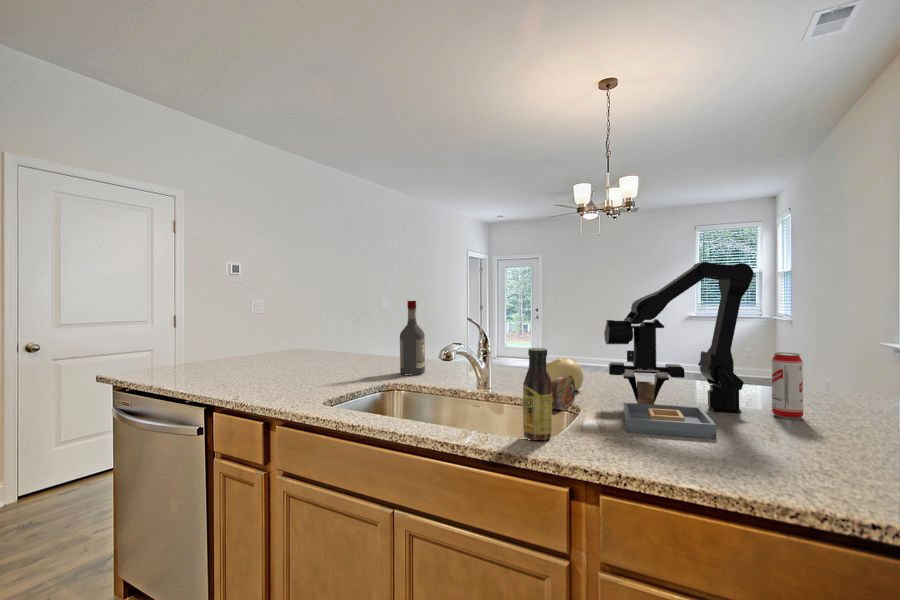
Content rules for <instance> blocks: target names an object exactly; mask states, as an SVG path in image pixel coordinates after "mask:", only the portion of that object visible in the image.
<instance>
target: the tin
mask: <svg viewBox="0 0 900 600" xmlns="http://www.w3.org/2000/svg"><path fill="white" fill-rule="evenodd" d="M551 391H552V410H556V411H565V410H566V409H567V408H569V407H571V406H573V404H574V401H575V397H576V390H575V384H574V380H573V378H572V376H570V375H569V376H561V377H559V378H557V379H555V380H553V381H552V383H551Z"/></svg>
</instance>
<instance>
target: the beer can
mask: <svg viewBox="0 0 900 600" xmlns="http://www.w3.org/2000/svg"><path fill="white" fill-rule="evenodd" d="M773 354H774V355H773V357H772V359H771V411H772V414H773V415H774V416H775V417H777V418H779V419H784V420H791V421H793V420H796V421H797V420H800V419H802V418H803V416H804V370H803V368H804V365H803V364H804V363H803V360H802V358H801V357H800V356H801V355H800V353H795V352H783V351H782V352H779V351H778V352H774V353H773Z"/></svg>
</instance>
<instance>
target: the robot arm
mask: <svg viewBox="0 0 900 600" xmlns="http://www.w3.org/2000/svg"><path fill="white" fill-rule="evenodd" d="M705 278H707V279H711V280H715V281H718V289H719V292H720V300H719V305H718V310H717V316H716V320H715V325H714V330H713V334H712V335H713V336H712V339H711V345H710V347H709V348H708V350H707V351H704V350H702V351H700V360H699V363H698V364H697V366H699V370H700V371H699V372H700V373H701V375H702V376H703V377H704V378H706V381H707V383H708V384H709V389H708V390H707V405H708V407H709V408H710V409H711V410H712V411H714V412H721V413H722V412H725V413H726V412H727V413H739V414H740V413H742V410H741V409H740V391H742V389H743V386H744V381H743V380H742V379H741V378H740V377H739V376H737V374H736V373H734V372H735V371H734V367H735V366H734V365H735V363H734V362H735V361H734V358H733V355H732V346H733V341H734V337H735V330H736V326H737V322H738V316H739V313H740V312H739V310H740V307H741V301H742V298H743V297H744V296H745V294H746V293H747V291H748V290H749V288H750V286H751V283H752V281H753V278H754V269H752V267H751V266H750V265H749V264H747V263H745V262H738V263H730V264H725V263H713V262H708V261H702V262H697V263H695V264H693V266H692V267H690V268H689V269H688V270H686V271H684V272H683V273H682V274H680V275H679V276H677V277H676V278H674V279H673V280H672V281H670V282H669V283H667V284H665V285H664V286H663V287H661V288H660V289H658V290H656V291H655V292H652V293H650V294H647V295H645V296H643V297H640V298H638V299H636V300H635V301H633V302H632V304H631V308H630V311H629V313H628V314H627V315H626V317H625V318H624V319H623V320H612V319H607V320H605V321H606V324H605V329H604V331H603V332H604V333H603V335H604V336H603V337H604V341H605V342H604V343H605V344H606V345H629V344H630V342H632V341H633V350H626V362H627V363H632V365H625V363H624V362H616V361H614V362H609V364H608V374H609V376H622V377H623V379H626V380H628V382H629V384H630V386H631V388H632V391H633V395H634V399H635V401H636V402H637V401H638V393H637V380H636V376H635V373H637V374H654V380H653V381H654V382H653V384H654V403H655V402H656V400H657V398H658V395H659V393H660V390H661V388H662V386H663V385H664V383H665V381H670V377H671V378H678V379H679V378H680V379H683V378H685V368H684V367H682V366H681V365H680V364H678V363H677V364H676V363H673V364H672V363H665V366H657V329H664V328H665V325H663V323H662V322H661V321H659V319H658V318H657V319H656V317H658V316H659V314H661V313H662V311H664V310H665V308H666V307H667V305H668V304H669V303H670V302H672V301H673V300H674V299H676V298H677V297H678V296H680V295H682V294H683V293H685V292H686V291H688V290H689V289H690V288H692V287H693V286H695V285H696V284H697V283H700V281H703V280H704V279H705ZM668 376H670V377H668Z"/></svg>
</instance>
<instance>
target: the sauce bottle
mask: <svg viewBox="0 0 900 600" xmlns="http://www.w3.org/2000/svg"><path fill="white" fill-rule="evenodd" d="M527 354H528V357H529V358H528V359H529V360H528V368H527V372H526V374H525V378H524V381H523V382H522V383H523V385H522V386H523V387H522V388H523V389H522V390H523V393H522V394H523V395H522V397H523V398H522V402H523V403H522V406H523V407H522V409H523V411H522V413H523V414H522V415H523V416H522V417H523V418H522V421H523V423H522V425H523V426H522V427H523V428H522V430H523V436H524V438H526V439H528V440H530V441H532V440H544V441H548V440H550V439H551V438H552V431H553V430H552V429H553V428H552V427H553V426H552V425H553V419H552V418H553V416H552V415H553V409H552V391H551V383H552V382H551V378H550V376H549V374H548V372H547V371H546V368H547V366H546V364H547V357H548V349H547V348H544V347H531V348H528V353H527ZM547 439H548V440H547Z"/></svg>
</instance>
